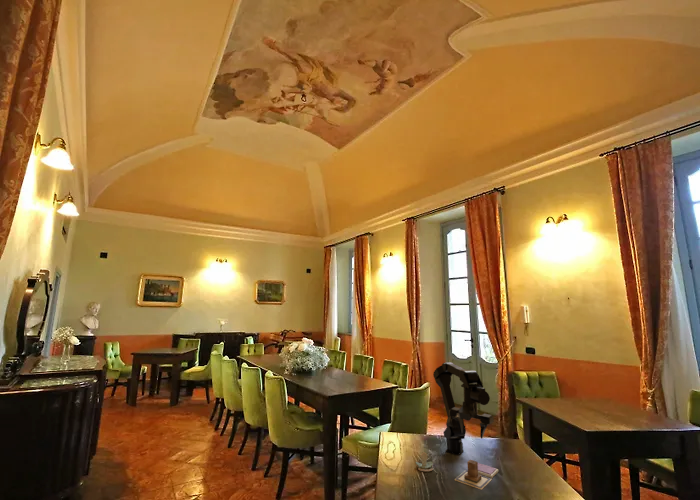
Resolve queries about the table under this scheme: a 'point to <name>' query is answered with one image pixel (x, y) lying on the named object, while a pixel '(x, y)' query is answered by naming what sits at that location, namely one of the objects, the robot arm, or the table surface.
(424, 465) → the pacifier
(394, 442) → the table surface
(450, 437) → the robot arm
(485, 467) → the ink pad
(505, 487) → the table surface
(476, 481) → the stamp
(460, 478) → the marked card
